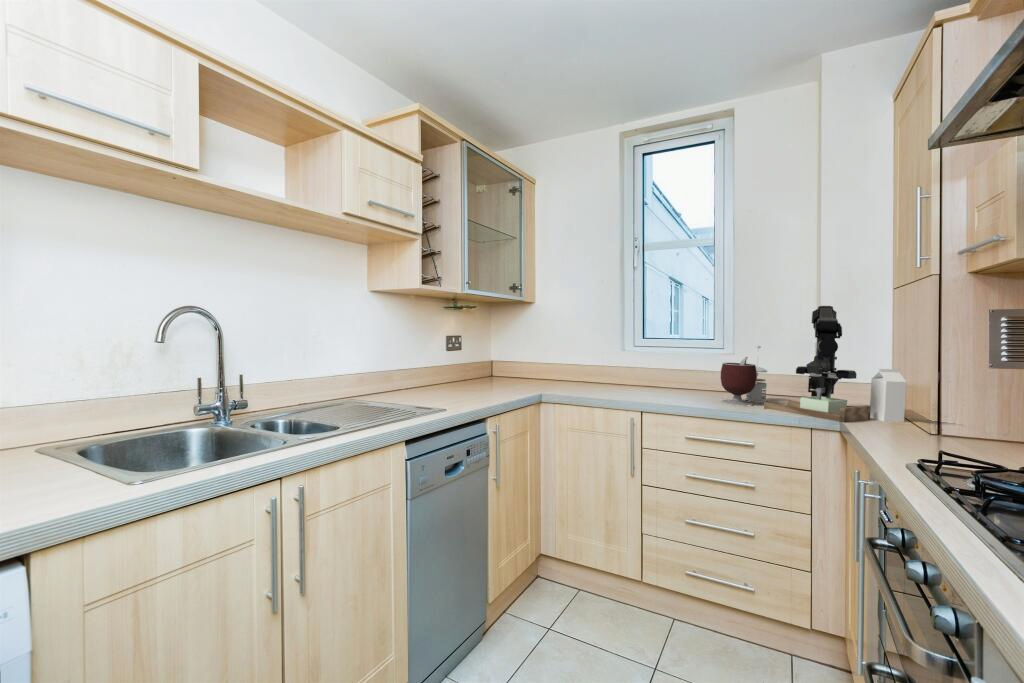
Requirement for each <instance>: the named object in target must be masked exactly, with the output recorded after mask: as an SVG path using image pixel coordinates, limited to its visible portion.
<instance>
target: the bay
mask: <svg viewBox="0 0 1024 683" xmlns="http://www.w3.org/2000/svg"><path fill="white" fill-rule="evenodd" d="M763 409H764V410H772V411H773V410H774V411H779V412H784V413H790V414H795V415H799V416H807V417H812V418H817V419H822V420H823V419H824V420H829V421H834V422H839V423H851V422H857V421H858V422H859V421H866V420H867V421H868V420H871V418H870V411H871V406H870V405H858V406H847V407H845V408H840V414H834V413H828V412H822V411H816V410H810V409H804V408H800V401H797V400H795V401H794V400H787V405H786V404H779V403H775V402H769V401H768V402H764V403H763Z"/></svg>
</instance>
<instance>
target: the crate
mask: <svg viewBox="0 0 1024 683" xmlns="http://www.w3.org/2000/svg"><path fill="white" fill-rule="evenodd" d="M815 390H816V392H817V396H814V397H811V396H803V397H800V400H799V402H800V408H804V409H810V410H816V411H822V412H828V413H834V414H840V408H845V407H848V399H843V398H837V397H836V398H835V397H831V396H832V394H831V392H832V390H831V391H830V393H829V395H828V396H826V397H822V396H821V393H825V388H817V389H815Z"/></svg>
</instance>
